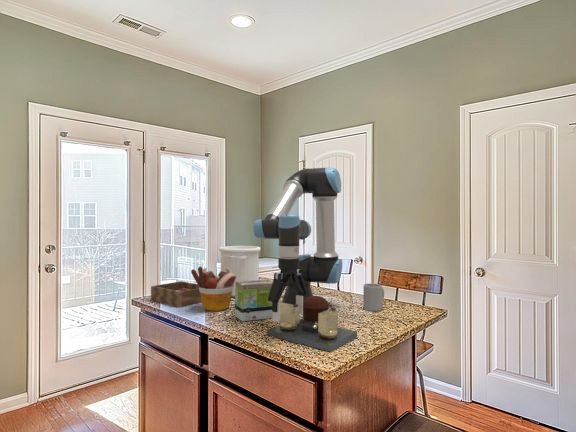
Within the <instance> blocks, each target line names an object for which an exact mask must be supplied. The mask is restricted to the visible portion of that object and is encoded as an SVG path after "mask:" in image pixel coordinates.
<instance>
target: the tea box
mask: <svg viewBox="0 0 576 432" xmlns="http://www.w3.org/2000/svg"><path fill="white" fill-rule="evenodd" d="M272 283H273V281H271V280H270V279H259V280H254V281H238V282H236V286H235V297H234V316H235V317H236V318H237V319H238V320H239V321H241V322H246V321H247V322H249V321H256V320H266V319H267V320H268V319H273V312H272V302H270V301H268V296H269V293H270V290H271V287H272Z"/></svg>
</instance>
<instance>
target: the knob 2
mask: <svg viewBox="0 0 576 432" xmlns="http://www.w3.org/2000/svg"><path fill="white" fill-rule="evenodd" d="M336 328H339V309H337V308H336V307H331V308H328V310H326V311H324V312H321V313H318V332H319V336H320V337H322V338H327V339H332V338H336V337H337V329H336Z"/></svg>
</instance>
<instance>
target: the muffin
mask: <svg viewBox="0 0 576 432" xmlns="http://www.w3.org/2000/svg"><path fill="white" fill-rule="evenodd" d="M330 306H331V305H330V304H329V301H328V300H327V299H325V298H324V297H323V296H320V295H313V296H310V297H308V298H306V299H305V300H304V301H303V314H302V320H306V321H310V322H317V321H318V313H321V312H324V311H326V310H329V309H330Z"/></svg>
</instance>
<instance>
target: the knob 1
mask: <svg viewBox="0 0 576 432" xmlns="http://www.w3.org/2000/svg"><path fill="white" fill-rule="evenodd" d="M300 319H301V314H300V306H298V305H297V304H294V305H292V304H286V303H283V302H280V322H279V325H280V328H281V329H284V330H293V329H296V328H297V324H298V323H300Z"/></svg>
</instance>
